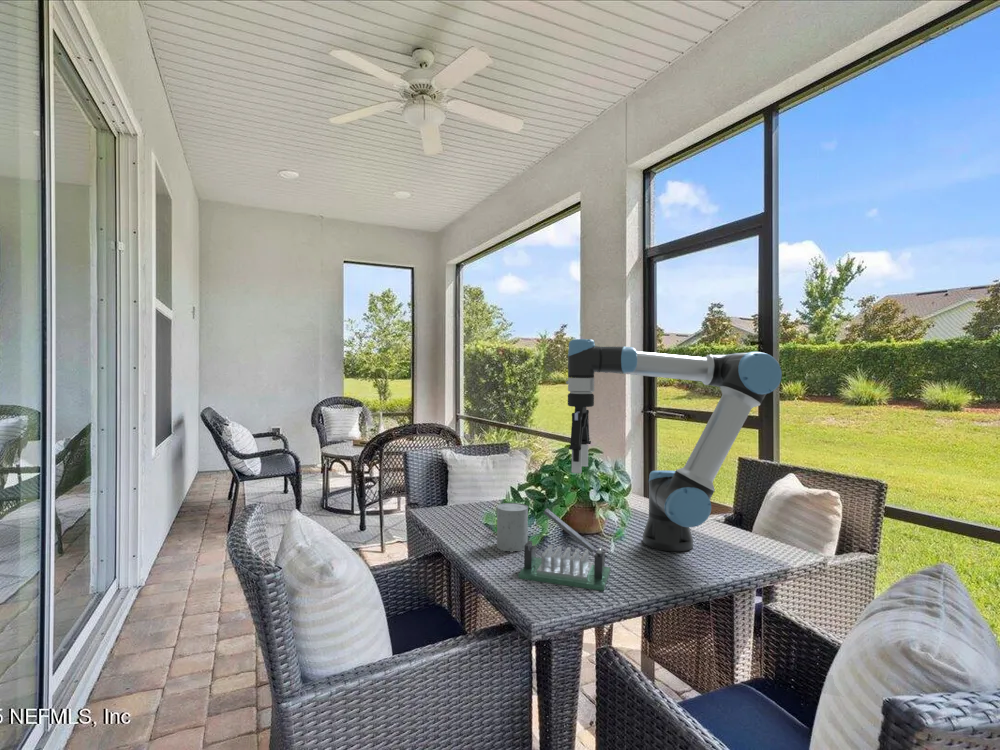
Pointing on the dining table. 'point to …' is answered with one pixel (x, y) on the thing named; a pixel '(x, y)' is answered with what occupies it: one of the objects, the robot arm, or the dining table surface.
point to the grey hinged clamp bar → (572, 532)
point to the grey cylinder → (512, 526)
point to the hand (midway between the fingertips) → (580, 469)
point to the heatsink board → (565, 568)
